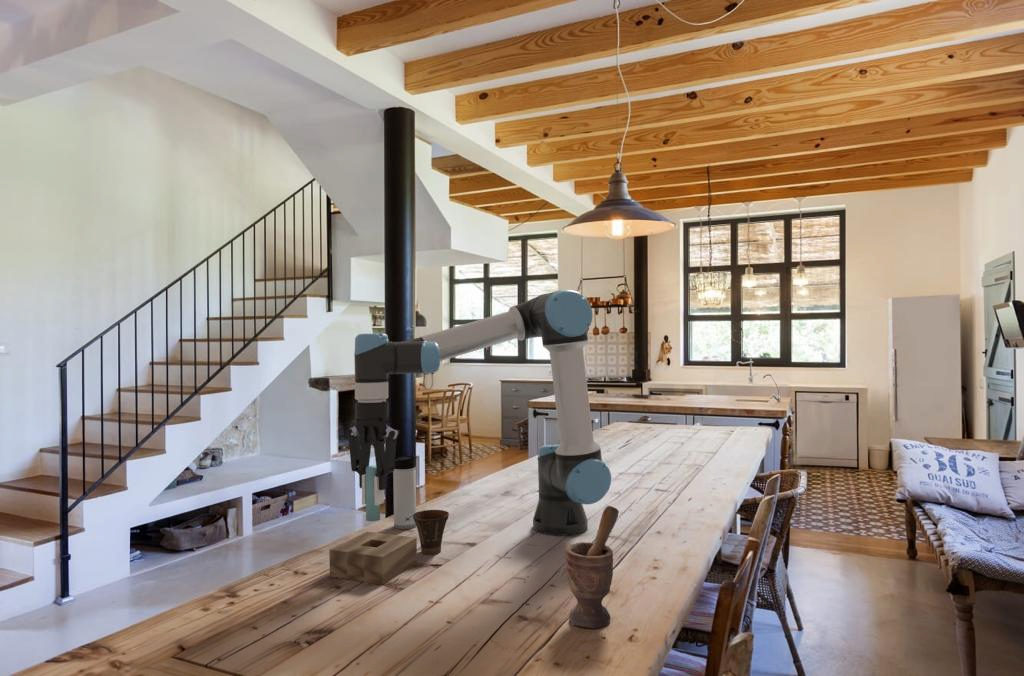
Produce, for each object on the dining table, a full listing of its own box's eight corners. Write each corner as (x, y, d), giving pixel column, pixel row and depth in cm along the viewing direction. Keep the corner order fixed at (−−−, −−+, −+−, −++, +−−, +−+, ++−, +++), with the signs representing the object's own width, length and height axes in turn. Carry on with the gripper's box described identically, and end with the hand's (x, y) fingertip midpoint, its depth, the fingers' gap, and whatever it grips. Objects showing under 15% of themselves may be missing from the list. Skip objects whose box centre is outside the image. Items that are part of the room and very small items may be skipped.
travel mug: (413, 530, 173) (411, 457, 173) (390, 529, 174) (389, 457, 175) (420, 523, 179) (419, 453, 179) (399, 522, 181) (398, 453, 181)
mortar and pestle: (584, 601, 124) (582, 500, 124) (626, 609, 120) (624, 505, 120) (559, 624, 114) (557, 514, 114) (604, 634, 110) (602, 520, 110)
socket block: (416, 563, 147) (416, 537, 147) (382, 584, 134) (382, 556, 134) (367, 556, 152) (366, 531, 152) (329, 576, 139) (329, 549, 139)
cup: (458, 543, 159) (454, 505, 158) (443, 559, 150) (438, 520, 149) (427, 541, 162) (422, 504, 161) (410, 557, 153) (406, 518, 152)
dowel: (382, 518, 144) (382, 466, 144) (374, 522, 141) (374, 468, 141) (371, 517, 145) (371, 465, 145) (363, 520, 142) (363, 467, 142)
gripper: (410, 399, 144) (411, 502, 144) (353, 398, 150) (354, 496, 150) (392, 402, 137) (393, 510, 137) (333, 401, 143) (334, 504, 143)
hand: (373, 503), depth 143 cm, fingers closed on dowel, 3 cm apart
